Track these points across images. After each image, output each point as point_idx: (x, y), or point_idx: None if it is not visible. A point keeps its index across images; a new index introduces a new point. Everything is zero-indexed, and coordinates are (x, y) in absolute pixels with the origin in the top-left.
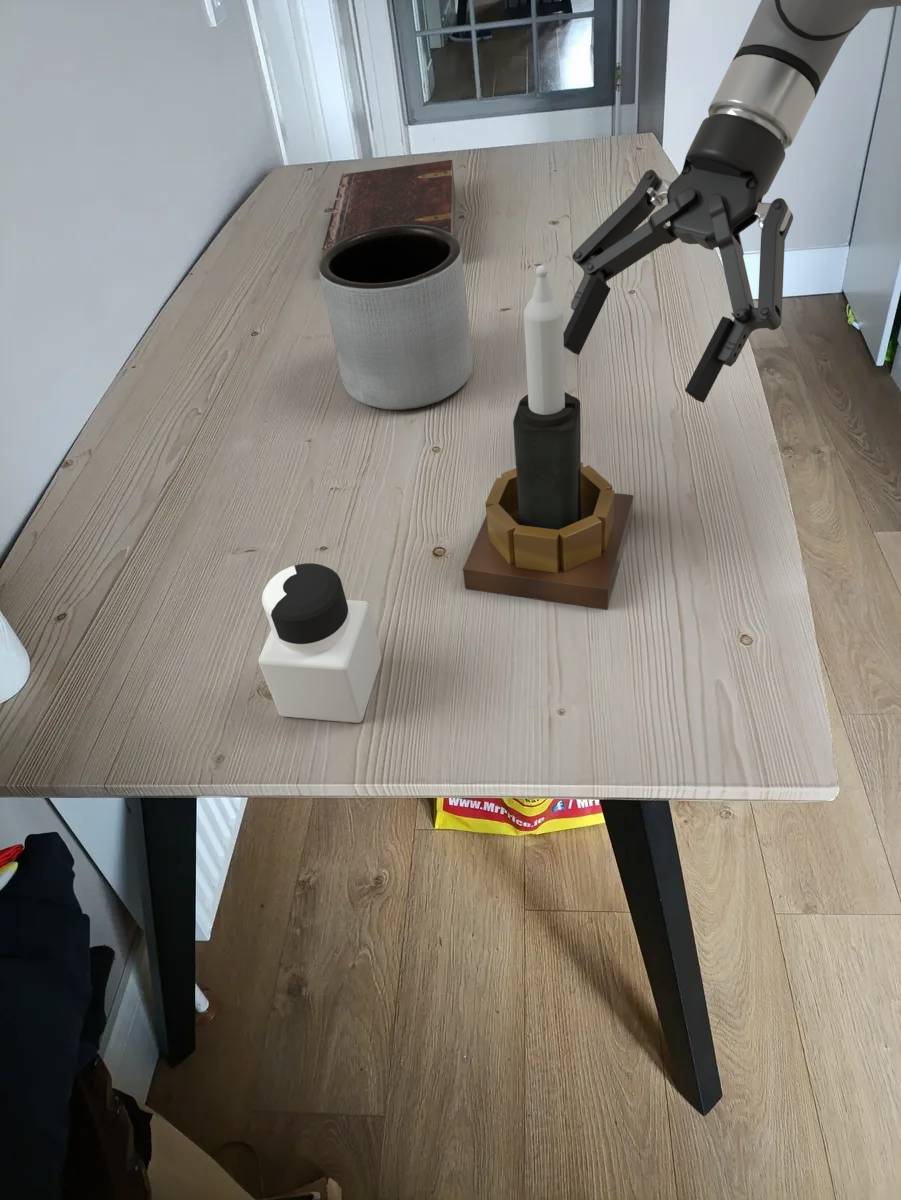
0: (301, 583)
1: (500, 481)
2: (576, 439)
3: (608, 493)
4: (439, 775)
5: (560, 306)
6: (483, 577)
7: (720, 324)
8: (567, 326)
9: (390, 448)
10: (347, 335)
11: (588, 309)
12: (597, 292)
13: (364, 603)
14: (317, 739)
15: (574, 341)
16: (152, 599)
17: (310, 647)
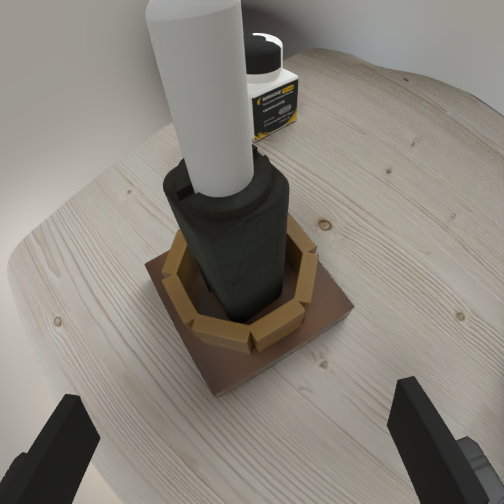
0: (254, 39)
1: (307, 244)
2: (174, 214)
3: (185, 314)
4: (163, 130)
5: (152, 6)
6: None
7: (16, 497)
8: (428, 401)
9: (482, 283)
10: None
11: (428, 463)
12: (445, 501)
13: (251, 93)
14: None
15: (399, 411)
16: (397, 100)
17: None
